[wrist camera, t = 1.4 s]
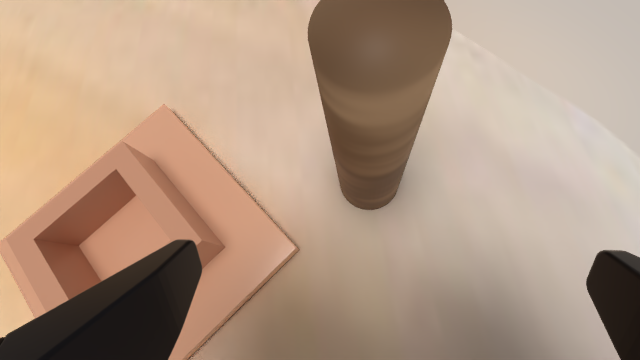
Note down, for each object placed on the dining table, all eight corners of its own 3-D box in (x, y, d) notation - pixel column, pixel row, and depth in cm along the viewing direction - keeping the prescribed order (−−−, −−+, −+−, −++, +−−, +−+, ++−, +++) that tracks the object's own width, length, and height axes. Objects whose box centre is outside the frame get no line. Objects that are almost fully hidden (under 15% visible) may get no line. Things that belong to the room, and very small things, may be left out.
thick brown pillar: (410, 180, 20) (483, 19, 8) (369, 221, 20) (381, 116, 8) (367, 144, 21) (374, -48, 9) (328, 182, 21) (279, 33, 9)
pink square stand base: (299, 249, 20) (284, 240, 16) (113, 431, 18) (48, 469, 14) (172, 110, 24) (136, 78, 20) (11, 246, 22) (-60, 238, 18)
